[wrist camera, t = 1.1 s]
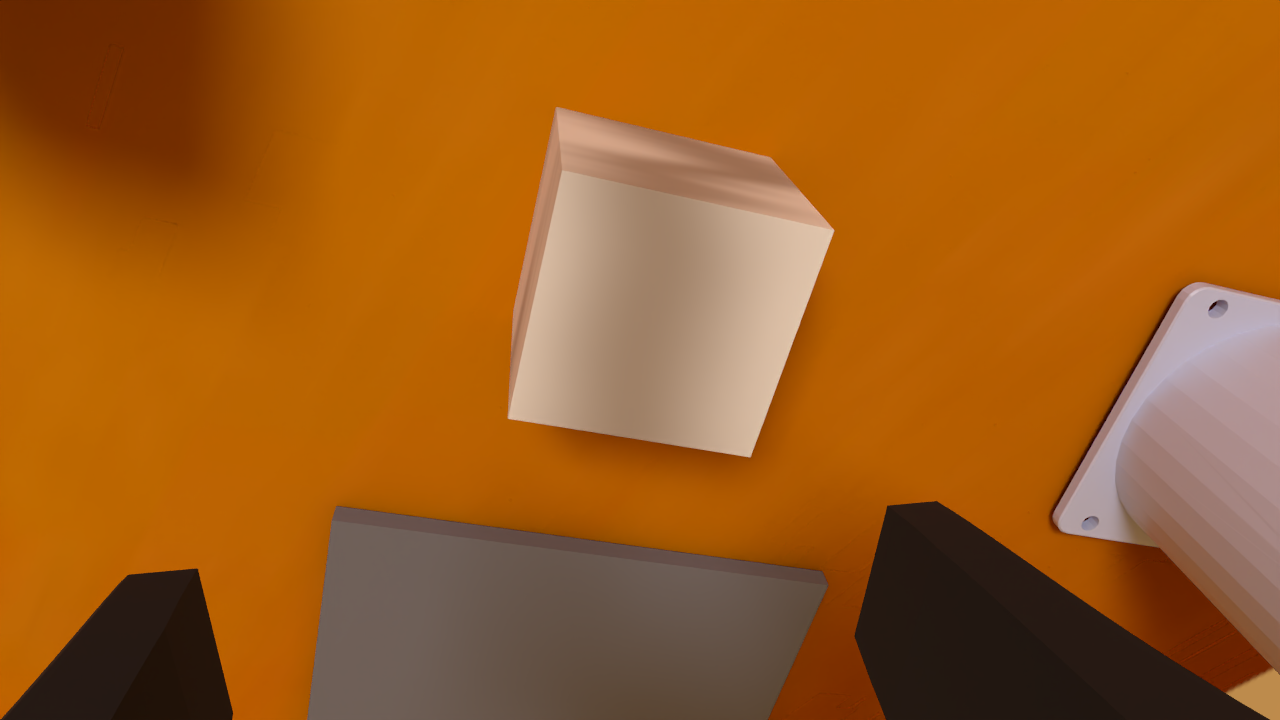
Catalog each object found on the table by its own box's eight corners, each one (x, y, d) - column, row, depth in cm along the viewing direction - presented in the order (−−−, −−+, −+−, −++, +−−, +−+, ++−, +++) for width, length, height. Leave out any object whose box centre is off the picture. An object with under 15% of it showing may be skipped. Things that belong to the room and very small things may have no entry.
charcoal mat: (822, 571, 26) (828, 585, 26) (708, 827, 32) (711, 843, 31) (336, 505, 23) (331, 520, 23) (299, 800, 29) (295, 817, 28)
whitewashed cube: (769, 156, 20) (834, 230, 16) (708, 346, 22) (750, 457, 18) (556, 106, 19) (562, 170, 15) (513, 310, 21) (507, 418, 17)
